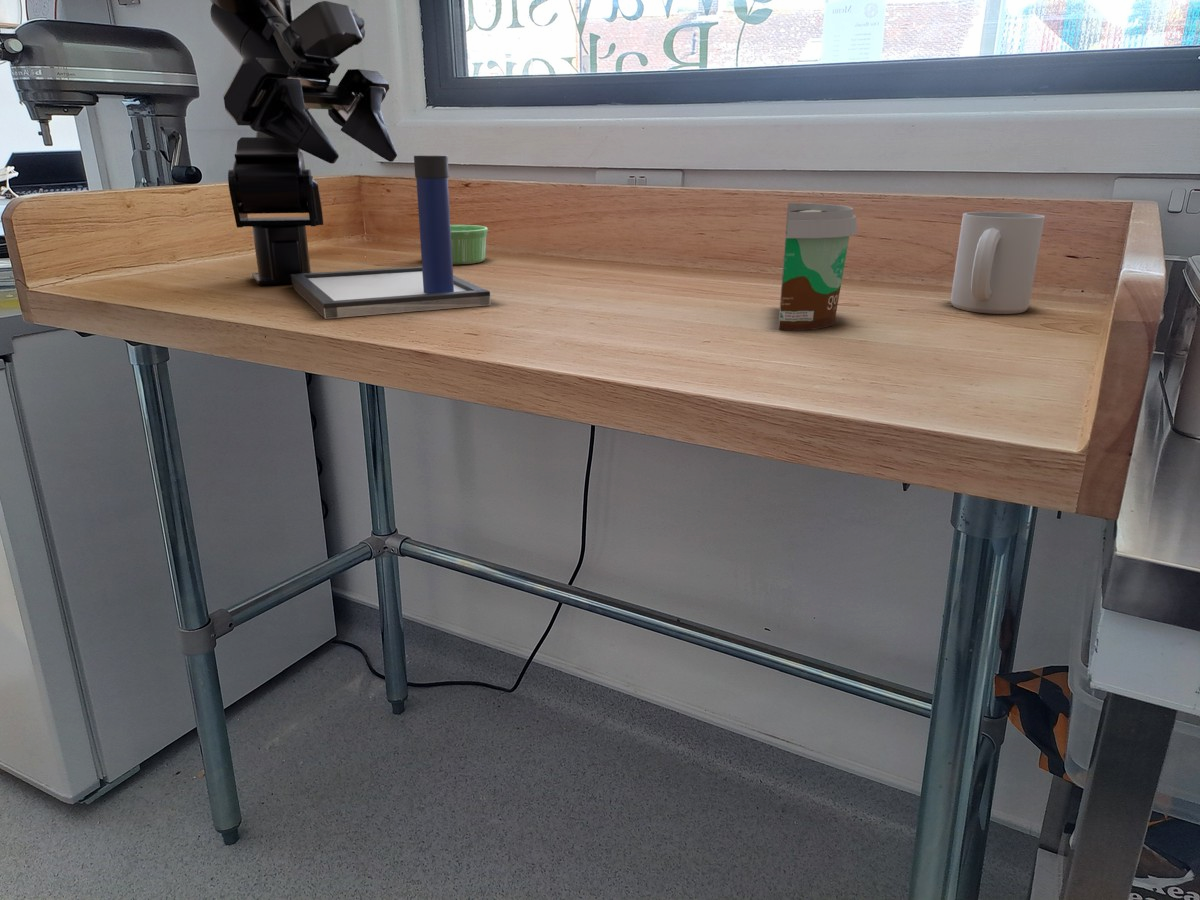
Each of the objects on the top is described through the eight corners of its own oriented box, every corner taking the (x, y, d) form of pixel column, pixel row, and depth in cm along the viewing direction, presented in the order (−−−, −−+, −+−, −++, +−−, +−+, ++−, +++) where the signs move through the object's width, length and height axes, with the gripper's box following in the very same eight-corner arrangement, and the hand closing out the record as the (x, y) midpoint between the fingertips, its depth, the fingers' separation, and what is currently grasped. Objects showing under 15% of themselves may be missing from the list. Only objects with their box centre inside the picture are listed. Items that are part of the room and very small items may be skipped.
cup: (1035, 306, 86) (1051, 214, 83) (1013, 322, 78) (1031, 221, 75) (960, 298, 90) (973, 210, 87) (933, 313, 82) (946, 217, 79)
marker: (418, 290, 87) (409, 155, 82) (449, 288, 88) (442, 155, 84) (427, 295, 84) (418, 156, 80) (459, 293, 86) (452, 155, 81)
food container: (853, 336, 72) (866, 213, 69) (778, 333, 73) (788, 212, 70) (843, 309, 83) (854, 203, 80) (779, 307, 85) (787, 202, 81)
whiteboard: (292, 286, 95) (290, 274, 94) (432, 277, 102) (431, 265, 101) (325, 318, 78) (323, 303, 77) (490, 305, 85) (490, 291, 84)
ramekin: (412, 264, 112) (409, 230, 110) (433, 256, 120) (432, 224, 119) (478, 266, 111) (477, 231, 109) (496, 257, 119) (494, 225, 118)
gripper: (228, -47, 73) (346, 91, 72) (366, -13, 89) (463, 100, 89) (176, 57, 78) (284, 185, 78) (314, 71, 94) (405, 178, 94)
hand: (366, 159), depth 85 cm, fingers open, 9 cm apart
